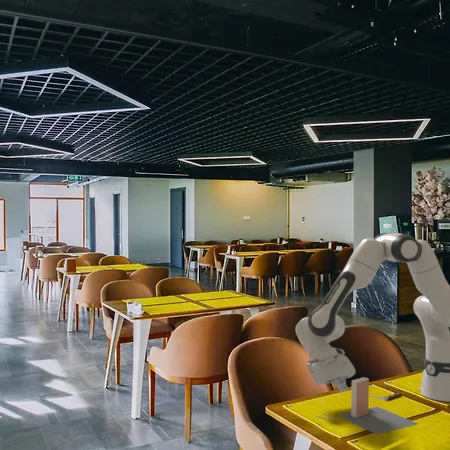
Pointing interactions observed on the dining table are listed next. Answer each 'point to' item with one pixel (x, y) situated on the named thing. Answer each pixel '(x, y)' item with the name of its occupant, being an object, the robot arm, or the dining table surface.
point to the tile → (360, 397)
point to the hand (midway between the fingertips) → (344, 390)
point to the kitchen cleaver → (389, 397)
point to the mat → (379, 420)
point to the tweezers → (323, 418)
